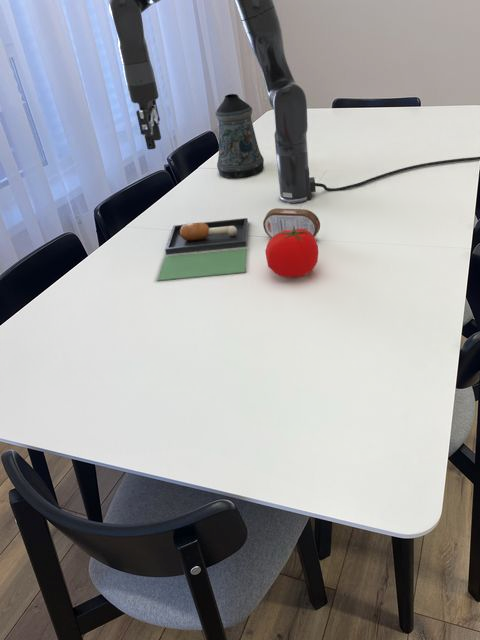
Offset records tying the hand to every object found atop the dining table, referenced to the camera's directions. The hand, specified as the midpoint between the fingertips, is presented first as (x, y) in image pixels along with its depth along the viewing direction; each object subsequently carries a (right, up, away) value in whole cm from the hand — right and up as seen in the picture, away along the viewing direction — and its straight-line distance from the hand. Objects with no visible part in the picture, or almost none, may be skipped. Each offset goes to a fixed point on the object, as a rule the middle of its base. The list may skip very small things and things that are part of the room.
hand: (154, 144), depth 158 cm
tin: (+38, -28, -5) cm, 47 cm away
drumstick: (+15, -26, +1) cm, 30 cm away
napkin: (+15, -35, -11) cm, 40 cm away
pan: (+15, -26, +1) cm, 30 cm away
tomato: (+37, -38, -20) cm, 57 cm away
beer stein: (+21, +7, +46) cm, 52 cm away
